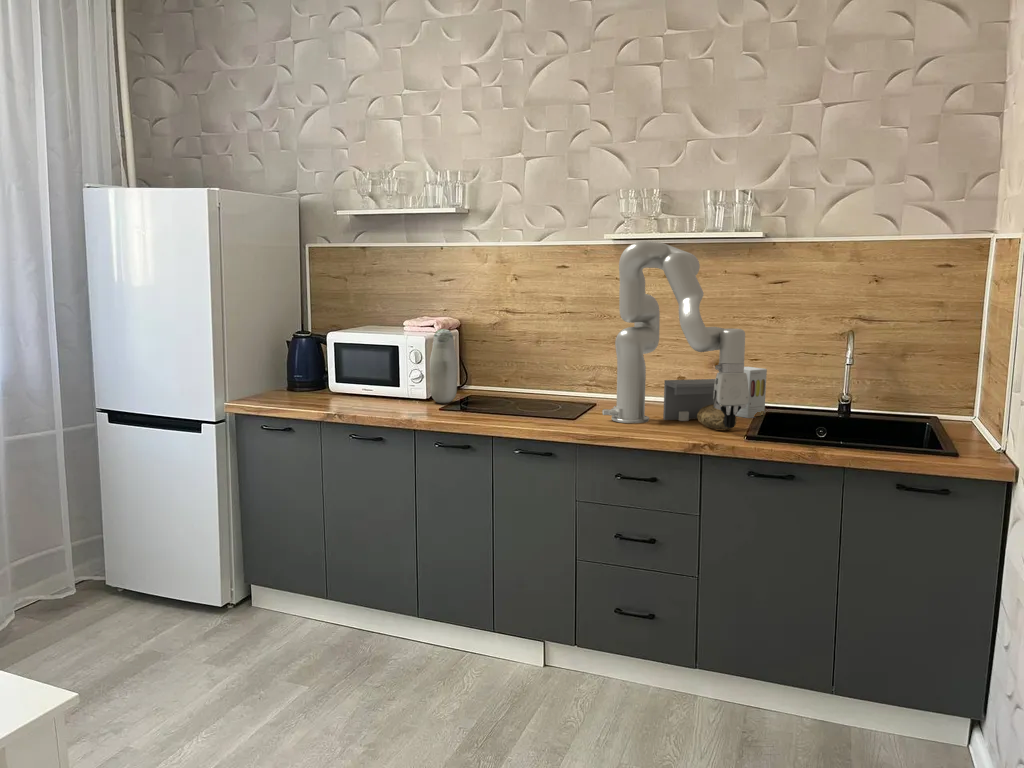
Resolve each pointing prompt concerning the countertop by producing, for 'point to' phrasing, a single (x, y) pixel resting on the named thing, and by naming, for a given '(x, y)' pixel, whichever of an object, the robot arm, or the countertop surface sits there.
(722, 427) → the rough tan stone
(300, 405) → the countertop surface
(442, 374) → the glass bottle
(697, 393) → the grey footed stand
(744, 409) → the supplement box
